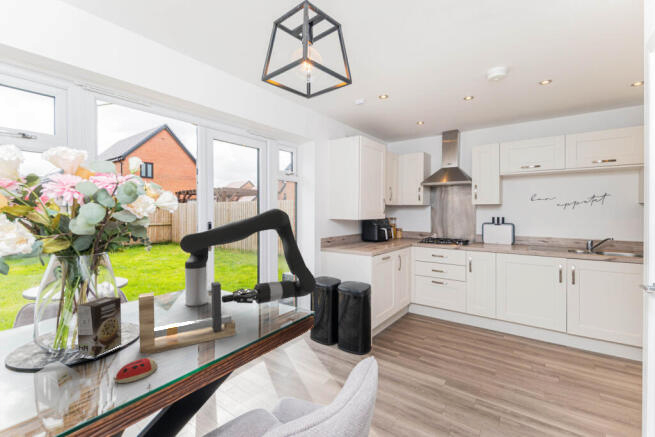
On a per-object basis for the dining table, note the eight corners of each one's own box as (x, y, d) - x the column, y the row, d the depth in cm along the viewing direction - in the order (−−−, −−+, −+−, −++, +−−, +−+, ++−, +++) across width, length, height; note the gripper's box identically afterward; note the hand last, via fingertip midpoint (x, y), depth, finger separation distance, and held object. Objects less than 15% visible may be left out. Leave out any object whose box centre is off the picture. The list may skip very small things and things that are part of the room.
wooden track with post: (140, 344, 96) (139, 292, 95) (230, 325, 111) (230, 280, 111) (139, 356, 88) (138, 299, 88) (237, 334, 104) (236, 286, 103)
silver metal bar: (147, 337, 94) (147, 329, 94) (230, 320, 108) (229, 313, 108) (147, 340, 92) (147, 331, 92) (231, 322, 106) (231, 315, 106)
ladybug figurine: (161, 371, 80) (161, 358, 80) (120, 389, 72) (119, 375, 72) (150, 364, 84) (150, 351, 84) (109, 380, 76) (109, 367, 76)
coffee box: (95, 361, 86) (93, 306, 85) (77, 358, 87) (75, 304, 86) (122, 346, 94) (121, 297, 94) (106, 344, 96) (105, 296, 95)
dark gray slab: (211, 327, 106) (211, 282, 105) (218, 325, 107) (218, 281, 106) (214, 331, 101) (213, 285, 101) (221, 330, 103) (221, 284, 102)
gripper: (262, 279, 120) (218, 285, 110) (274, 286, 108) (226, 293, 99) (262, 297, 120) (218, 304, 111) (274, 306, 109) (226, 315, 99)
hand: (222, 299), depth 105 cm, fingers closed
